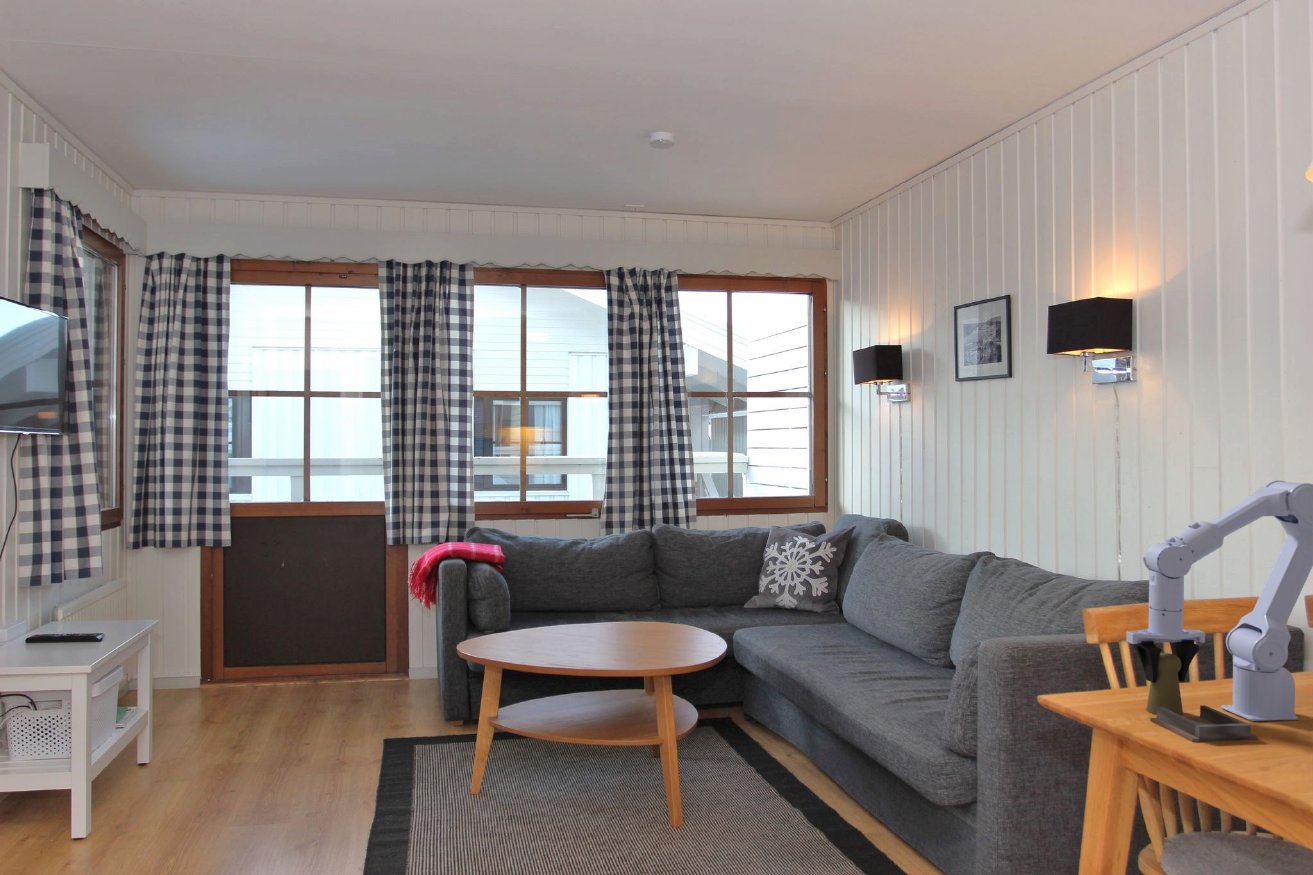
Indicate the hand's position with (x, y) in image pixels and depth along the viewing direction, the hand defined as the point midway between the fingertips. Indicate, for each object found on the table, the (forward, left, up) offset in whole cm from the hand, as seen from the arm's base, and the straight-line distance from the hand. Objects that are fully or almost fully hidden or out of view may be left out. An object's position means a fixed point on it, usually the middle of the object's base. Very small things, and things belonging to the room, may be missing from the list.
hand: (1165, 680), depth 171 cm
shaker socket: (0, +9, -6) cm, 11 cm away
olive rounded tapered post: (0, 0, -6) cm, 6 cm away
